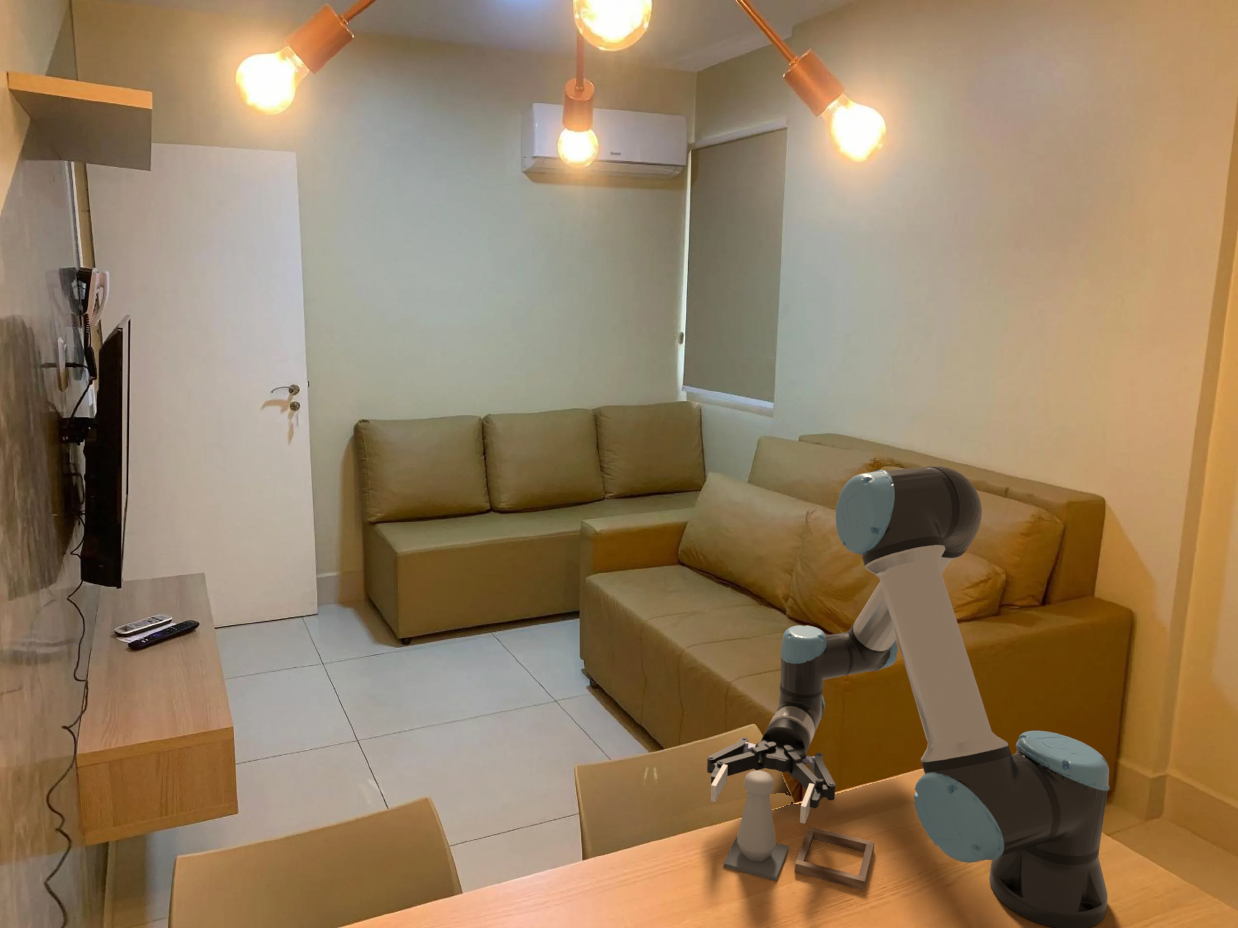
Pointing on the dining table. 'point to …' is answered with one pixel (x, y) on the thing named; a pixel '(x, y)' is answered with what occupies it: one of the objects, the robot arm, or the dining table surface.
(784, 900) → the dining table surface
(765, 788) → the salt shaker
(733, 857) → the charcoal coaster
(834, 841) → the walnut collar
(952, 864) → the dining table surface
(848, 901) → the dining table surface
